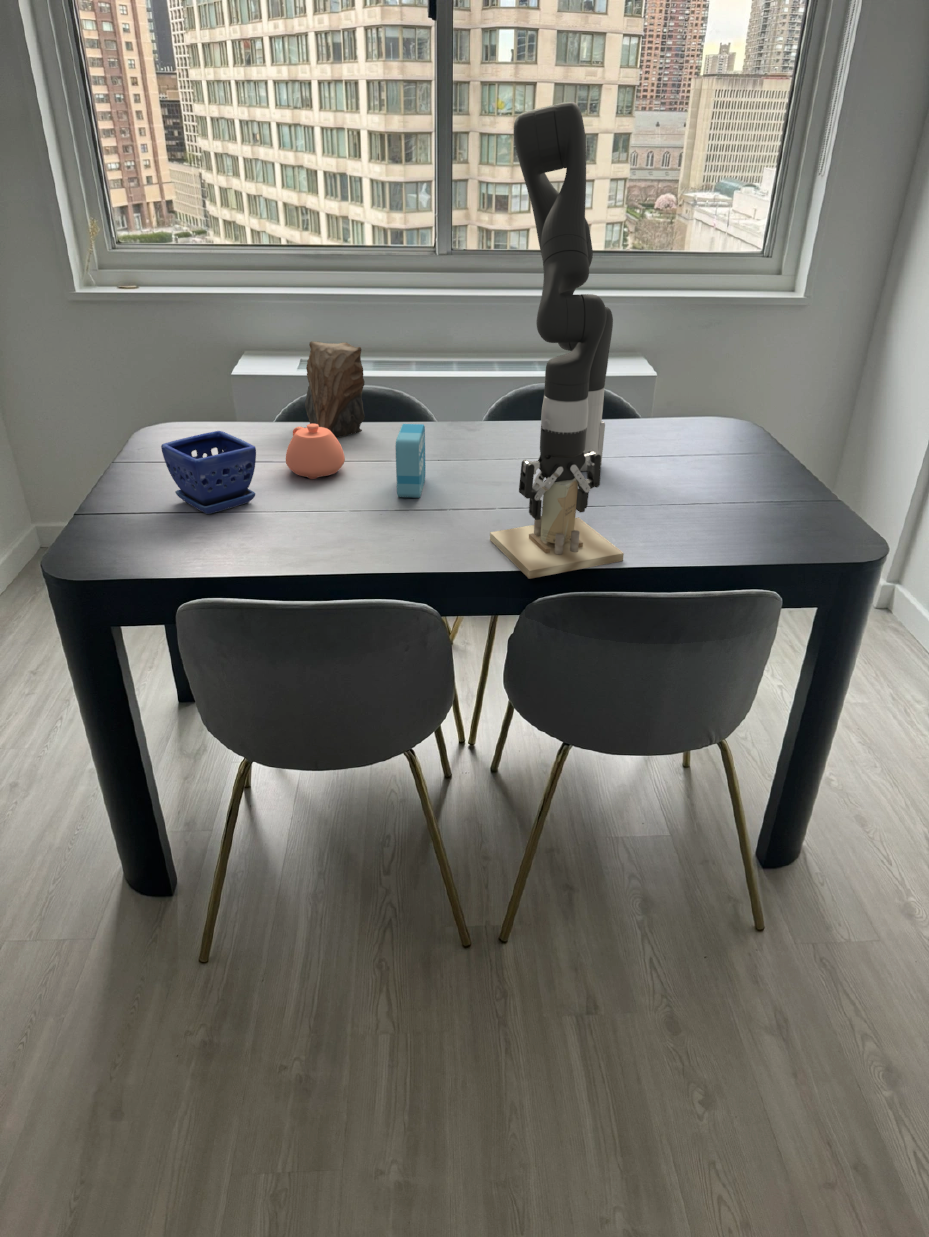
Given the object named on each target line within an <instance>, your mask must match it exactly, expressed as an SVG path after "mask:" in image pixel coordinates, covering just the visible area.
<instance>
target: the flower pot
mask: <svg viewBox="0 0 929 1237" xmlns="http://www.w3.org/2000/svg"><path fill="white" fill-rule="evenodd" d="M160 447H161V452H162V456H163V460H164V462H165V464H166V465H165V466H166V467H167V470H168V472H169V474H170V476H171V478H172V480H173V482H174V483H175V485H176V486H177V487H178V488H179V489H177V490H175V494H176V496H177V497H178V498H180V500H182V501H183V502H185V503H187V504H188V505H189V506H192V507H193V508H195V509H196V510H199V511H201V512H202V513H204V514H205V515H211V514H214V513H215V514H216V513H218V512H222V511H226V510H229V509H232V508H236V507H238V506H241V505H245V504H247V503H250V502H251V501H252V500H254V498H255V496H256V492H255V491H253V490H251V489H249V487H250V485H251V482H252V480H253V477H254V473H255V468H256V461H257V460H256V459H257V448H256V446H255V445H253V444H251V443H249V442H247V441H245V440H243V439H241V438H239V437H237V436H234V435H231V434H230V433H227V432H224V431H222V430H215V431H211V432H205V433H202V434H201V433H200V434H195V435H191V436H188V437H183V438H179V439H176V440H172V441H168V442H165V443H162V444H161V446H160ZM213 449H216V450H217V454H213V453H212V450H213ZM194 451H196V455H194V456H193V452H194ZM204 454H206V456H205V457H204Z"/></svg>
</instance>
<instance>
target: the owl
mask: <svg viewBox="0 0 929 1237" xmlns="http://www.w3.org/2000/svg"><path fill="white" fill-rule="evenodd" d="M309 348H310V352H309V355H308V359H307V362H306V378H307V381H308V386H307V390H306V398H305V401H304V407H305V411H306V416H307V418H308V422H309V424H318V425H319V427H323V428H327V429H329V430H330V431H331V432H332V433H333V434H334V436H335V437H336V438H337V439H338V438H340V437H341V438H342V437H346V436H350V435H353V434H354V435H356V434H360V433H361V432H362V431H363V429H361V425H362V422H364V420H365V412H364V402H363V400H362V395H363V390H364V387H365V385H366V384H365V379H364V367H363V363H362V359H361V357H362V356H361V355H362V347H361V346H358V347H356V346H354V345H352V344H350V343H348V342H340V343H333V342H332V343H329V342H328V343H325V342H321V341H313V340H312V341H309Z"/></svg>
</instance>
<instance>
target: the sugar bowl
mask: <svg viewBox="0 0 929 1237" xmlns="http://www.w3.org/2000/svg"><path fill="white" fill-rule="evenodd" d="M285 452H286V453H285V464H286V466H287V468H289V470H290V471H292V472H293V473H294V474H296V475H297V476H300V477H301V476H302V477H307V478H308V479H310V480H316V479H318V478H320V477H326V476H327V477H328V476H330V475H333V474H336V473H337V472H338V471H340V469H341V468H342V467H343V465H344V463H345V460H346V459H345V458H346V457H345V453H344V449H343V447H342V445H341V443H340V441H339V440H338V438H336V437H335V436H334V434H333V433H332V432H331V431H330V430H329V429H327V428H323V427H319V425H318V424H310V423H309V424H307V425H306V427H302V426H296V427H294V428H293V429H292V438H291V440H290V441H289V443H288V446H287V448H286V451H285Z"/></svg>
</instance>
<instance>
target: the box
mask: <svg viewBox="0 0 929 1237" xmlns="http://www.w3.org/2000/svg"><path fill="white" fill-rule="evenodd" d="M546 480H547V479H546V478H545V479H544V480H543V482H545V481H546ZM578 489H579V487H578V483H577V480H576V479H575V478H574V479H573V480H567V481H560V482H554V483H553V484H552V486H551V487H550V489H549V490H546V491H545V493H544V494H543V496H542V506H541V516H542V522H541V537H540V540H543V541H547V542H551V543H555V538H556V534H557V533H562V534H564V542H563V544H564V543H565V542H566V541H568V540H569V539H570V538H571V531H573V530H574V526H575V518H576V512H577V510H576V503H577V492H578Z"/></svg>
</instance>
